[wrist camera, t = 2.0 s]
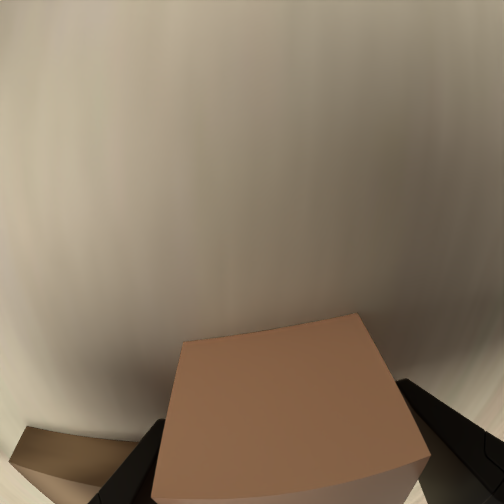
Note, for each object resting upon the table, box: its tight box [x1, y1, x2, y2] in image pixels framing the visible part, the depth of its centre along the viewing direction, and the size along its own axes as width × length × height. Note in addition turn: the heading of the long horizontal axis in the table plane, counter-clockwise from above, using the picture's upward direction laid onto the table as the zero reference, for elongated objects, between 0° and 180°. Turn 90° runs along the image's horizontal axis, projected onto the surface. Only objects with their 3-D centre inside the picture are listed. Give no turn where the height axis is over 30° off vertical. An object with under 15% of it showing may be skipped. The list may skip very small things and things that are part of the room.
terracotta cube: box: [151, 313, 431, 504], centre depth 7 cm, size 5×5×5 cm
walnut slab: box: [9, 426, 139, 504], centre depth 11 cm, size 12×9×3 cm
